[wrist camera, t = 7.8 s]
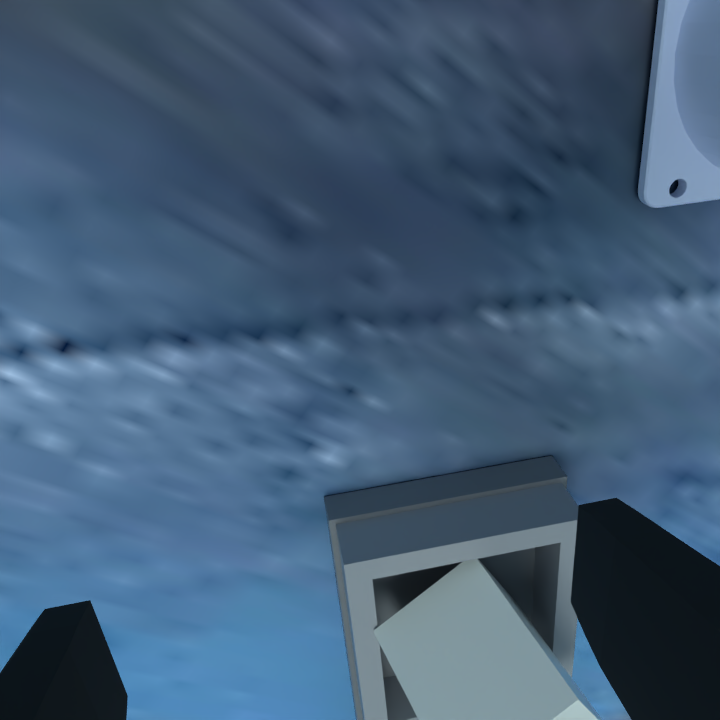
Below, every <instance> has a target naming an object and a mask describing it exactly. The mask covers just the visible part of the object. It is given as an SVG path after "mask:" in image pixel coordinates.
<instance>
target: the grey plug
mask: <svg viewBox="0 0 720 720" xmlns="http://www.w3.org/2000/svg"><path fill="white" fill-rule="evenodd" d="M373 632H374V634H375V636H376V638H377V640H378V642H379V644H380V646H381V647H382V649H383V651H384V653H385V655H386V657H387V659H388V661H389V663H390V665H391V667H392V669H393V671H394V673H395V675H396V677H397V679H398V681H399V683H400V684H401V686H402V688H403V690H404V692H405V694H406V696H407V698H408V700H409V702H410V704H411V706H412V708H413V710H414V712H415V714H416V716H417V718H418V720H602V719H601V718H600V716H599V715H598V713H597V712H596V711H595V709H594V708H593V707H592V705H591V704H590V703H589V701H588V700H587V698H586V697H585V696H584V694H583V693H582V692H581V690H580V689H579V687H578V686H577V685H576V683H575V682H574V681H573V679H572V678H571V676H570V675H569V674H568V672H567V671H566V670H565V668H564V667H563V666H562V664H561V663H560V661H559V660H558V659H557V657H556V656H555V655H554V653H553V652H552V650H551V649H550V648H549V646H548V645H547V644H546V642H545V641H544V639H543V638H542V637H541V635H540V634H539V633H538V631H537V630H536V629H535V627H534V626H533V624H532V623H531V622H530V620H529V619H528V618H527V616H526V615H525V613H524V612H523V611H522V609H521V608H520V607H519V605H518V604H517V603H516V602H515V600H514V599H513V598H512V597H511V596H510V595H509V594H508V592H507V591H506V590H505V589H504V588H503V587H502V586H501V584H500V583H499V582H498V581H497V580H496V579H495V578H494V576H493V575H492V574H491V573H490V572H489V571H488V570H487V568H486V567H485V566H484V565H483V564H482V563H481V562H480V560H479V559H474V560H469V561H464V562H462V563H461V564H459V565H458V566H457V567H455V568H454V569H453V570H451V571H450V572H449V573H448V574H446V575H445V576H444V577H442V578H441V579H440V580H439V581H437V582H436V583H435V584H433V585H432V586H431V587H429V588H428V589H427V590H426V591H424V592H423V593H422V594H420V595H419V596H418V597H416V598H415V599H414V600H413V601H411V602H410V603H409V604H407V605H406V606H405V607H404V608H402V609H401V610H400V611H398V612H397V613H396V614H394V615H393V616H392V617H391V618H389V619H388V620H387V621H385V622H384V623H383V624H381V625H380V626H379V627H378V628H376V629H375V630H374V631H373Z"/></svg>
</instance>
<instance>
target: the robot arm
mask: <svg viewBox="0 0 720 720" xmlns="http://www.w3.org/2000/svg"><path fill="white" fill-rule="evenodd" d="M677 179H678V187H677V189H676V190H675V191H674V192H673V193H672V194H670V193H669V189H670V186H671V184H672V183H673V182H674V181H675V180H677ZM638 197H639V199H640V200H641V202H642V203H644V204H646V205H648V206H650V207H653V208H661V207H668V206H675V205H682V204H690V203H697V202H704V201H711V200H718V199H720V0H659V1H658V10H657V20H656V29H655V38H654V47H653V56H652V65H651V75H650V84H649V93H648V102H647V111H646V120H645V130H644V139H643V148H642V157H641V166H640V176H639V185H638ZM570 602H571V604H572V606H573V609H574V611H575V613H576V615H577V618H578V620H579V622H580V624H581V627H582V629H583V631H584V633H585V636H586V638H587V640H588V642H589V644H590V646H591V648H592V651H593V653H594V655H595V657H596V659H597V661H598V663H599V665H600V667H601V669H602V671H603V672H604V674H605V676H606V677H607V679H608V681H609V683H610V684H611V686H612V688H613V689H614V691H615V693H616V694H617V696H618V698H619V699H620V701H621V703H622V704H623V706H624V708H625V709H626V711H627V713H628V714H629V716H630V718H631V719H632V720H720V566H719V565H717V564H716V563H714V562H712V561H711V560H709V559H708V558H706V557H705V556H703V555H702V554H700V553H699V552H697V551H696V550H694V549H693V548H691V547H690V546H688V545H687V544H685V543H684V542H682V541H681V540H679V539H678V538H676V537H675V536H673V535H672V534H670V533H669V532H667V531H666V530H664V529H663V528H661V527H660V526H658V525H657V524H656V523H654V522H653V521H651V520H650V519H648V518H647V517H645V516H644V515H642V514H641V513H639V512H638V511H636V510H635V509H633V508H631V507H630V506H628V505H627V504H625V503H624V502H622V501H621V500H619V499H617V498H613V499H608V500H603V501H598V502H593V503H588V504H582V505H579V507H578V519H577V531H576V542H575V554H574V566H573V578H572V590H571V601H570ZM126 715H127V693H126V691H125V688H124V685H123V683H122V680H121V678H120V675H119V673H118V670H117V668H116V665H115V662H114V660H113V657H112V655H111V652H110V650H109V647H108V645H107V642H106V640H105V637H104V634H103V632H102V629H101V627H100V624H99V622H98V619H97V617H96V614H95V611H94V609H93V606H92V604H91V601H90V600H89V601H84V602H79V603H74V604H69V605H64V606H59V607H53V608H48V609H45V610H44V611H43V612H42V614H41V615H40V616H39V618H38V619H37V620H36V622H35V623H34V625H33V626H32V627H31V629H30V630H29V632H28V633H27V635H26V636H25V638H24V639H23V640H22V642H21V643H20V645H19V646H18V648H17V649H16V651H15V652H14V654H13V655H12V657H11V658H10V659H9V661H8V662H7V664H6V665H5V667H4V668H3V670H2V671H1V673H0V720H126Z"/></svg>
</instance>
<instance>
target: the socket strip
mask: <svg viewBox="0 0 720 720" xmlns="http://www.w3.org/2000/svg"><path fill="white" fill-rule="evenodd" d="M566 486H567V476H566V474H565V473H564V471H563V470H562V469H561V467H560V466H559V465H558V463H557V462H556V461H555V459H554V458H553V457H552V456H547V457H542V458H536V459H530V460H525V461H519V462H514V463H508V464H503V465H497V466H492V467H486V468H481V469H475V470H470V471H464V472H459V473H453V474H448V475H442V476H437V477H431V478H425V479H420V480H414V481H409V482H403V483H398V484H392V485H387V486H381V487H376V488H370V489H365V490H359V491H354V492H348V493H343V494H337V495H332V496H326V497H324V500H325V507H326V514H327V521H328V528H329V535H330V542H331V548H332V555H333V562H334V569H335V576H336V583H337V590H338V597H339V604H340V610H341V617H342V624H343V631H344V638H345V645H346V652H347V659H348V666H349V673H350V679H351V686H352V693H353V700H354V707H355V714H356V720H418V718H417V716H416V714H415V712H414V710H413V708H412V706H411V704H410V702H409V700H408V698H407V696H406V694H405V692H404V690H403V688H402V686H401V684H400V683H399V681H398V679H397V677H396V675H395V673H394V671H393V669H392V667H391V665H390V663H389V661H388V659H387V657H386V655H385V653H384V651H383V649H382V647H381V646H380V644H379V642H378V640H377V638H376V636H375V634H374V632H373V631H374V630H375V629H376V628H378V627H379V626H380V625H381V624H383V623H384V622H385V621H387V620H388V619H389V618H391V617H392V616H393V615H394V614H396V613H397V612H398V611H400V610H401V609H402V608H404V607H405V606H406V605H407V604H409V603H410V602H411V601H413V600H414V599H415V598H416V597H418V596H419V595H420V594H422V593H423V592H424V591H426V590H427V589H428V588H429V587H431V586H432V585H433V584H435V583H436V582H437V581H439V580H440V579H441V578H442V577H444V576H445V575H446V574H448V573H449V572H450V571H451V570H453V569H454V568H455V567H457V566H458V565H459V564H461V563H462V562H464V561H469V560H474V559H479V560H480V562H481V563H482V564H483V565H484V566H485V567H486V568H487V570H488V571H489V572H490V573H491V574H492V575H493V576H494V578H495V579H496V580H497V581H498V582H499V583H500V584H501V586H502V587H503V588H504V589H505V590H506V591H507V592H508V594H509V595H510V596H511V597H512V598H513V599H514V600H515V602H516V603H517V604H518V605H519V607H520V608H521V609H522V611H523V612H524V613H525V615H526V616H527V618H528V619H529V620H530V622H531V623H532V624H533V626H534V627H535V629H536V630H537V631H538V633H539V634H540V635H541V637H542V638H543V639H544V641H545V642H546V644H547V645H548V646H549V648H550V649H551V650H552V652H553V653H554V655H555V656H556V657H557V659H558V660H559V661H560V663H561V664H562V666H563V667H564V668H565V670H566V671H567V672H568V674H569V675H570V676H571V678H572V669H573V658H574V648H575V637H576V626H577V615H576V613H575V611H574V609H573V606H572V604H571V602H570V601H571V590H572V578H573V566H574V554H575V542H576V531H577V519H578V505H577V504H576V502H575V501H574V500H573V498H572V497H571V495H570V494H569V493H568V491H567V490H566Z"/></svg>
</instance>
